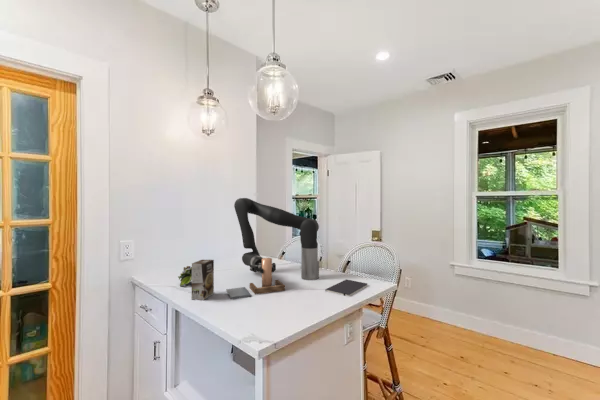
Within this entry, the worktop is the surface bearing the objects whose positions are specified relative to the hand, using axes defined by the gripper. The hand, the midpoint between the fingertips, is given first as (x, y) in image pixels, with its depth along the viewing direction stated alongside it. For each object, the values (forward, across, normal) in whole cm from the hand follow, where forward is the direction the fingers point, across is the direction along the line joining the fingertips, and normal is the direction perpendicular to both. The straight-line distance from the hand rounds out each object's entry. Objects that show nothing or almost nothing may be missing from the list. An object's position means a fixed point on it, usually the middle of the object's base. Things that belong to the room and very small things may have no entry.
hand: (268, 270), depth 141 cm
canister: (-2, 0, +8) cm, 9 cm away
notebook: (+13, +37, +10) cm, 41 cm away
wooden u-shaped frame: (-2, 0, +9) cm, 10 cm away
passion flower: (-26, -34, +10) cm, 44 cm away
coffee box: (-3, -30, +10) cm, 32 cm away
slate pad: (0, -15, +9) cm, 17 cm away
